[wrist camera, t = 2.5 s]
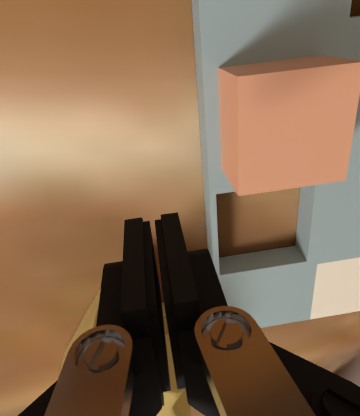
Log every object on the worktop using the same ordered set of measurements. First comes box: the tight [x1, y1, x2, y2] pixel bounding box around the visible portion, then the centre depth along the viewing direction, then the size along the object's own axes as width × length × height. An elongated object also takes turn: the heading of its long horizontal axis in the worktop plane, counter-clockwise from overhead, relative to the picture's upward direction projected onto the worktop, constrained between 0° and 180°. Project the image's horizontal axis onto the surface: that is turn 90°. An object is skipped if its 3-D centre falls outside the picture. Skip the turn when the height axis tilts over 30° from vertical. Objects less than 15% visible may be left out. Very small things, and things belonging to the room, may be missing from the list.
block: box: [218, 55, 360, 196], centre depth 22 cm, size 7×7×4 cm
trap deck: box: [192, 0, 360, 328], centre depth 27 cm, size 32×18×2 cm, turn 5°
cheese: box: [58, 289, 190, 416], centre depth 31 cm, size 10×11×10 cm
